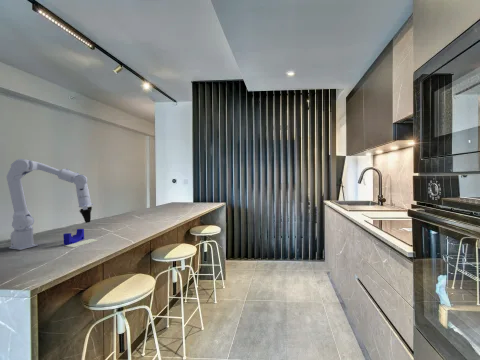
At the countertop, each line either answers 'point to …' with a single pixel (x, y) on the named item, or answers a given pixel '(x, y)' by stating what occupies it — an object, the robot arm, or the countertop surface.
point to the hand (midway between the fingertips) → (88, 221)
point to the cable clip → (73, 237)
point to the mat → (81, 243)
